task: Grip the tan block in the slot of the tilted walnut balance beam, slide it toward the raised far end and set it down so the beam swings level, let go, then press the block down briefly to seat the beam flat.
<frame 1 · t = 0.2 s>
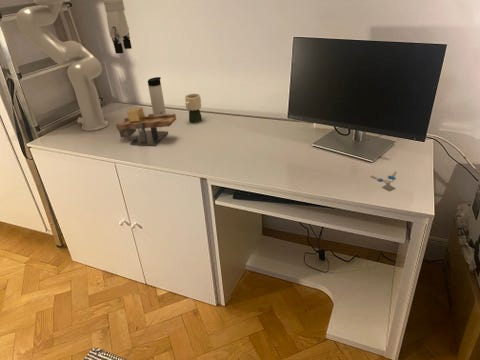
hand: (124, 50, 160), 36 cm above the table, tool pointing down, fingers open, 9 cm apart
tan block: (138, 122, 163), point 8 cm above the table, tilted 6°, touching beam
stand: (149, 139, 167), on the table
travel mug: (160, 116, 192), on the table
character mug: (195, 121, 183), on the table
beam: (147, 126, 163), point 6 cm above the table, hinge at -6.1°, touching tan block
key chain: (382, 181, 126), on the table
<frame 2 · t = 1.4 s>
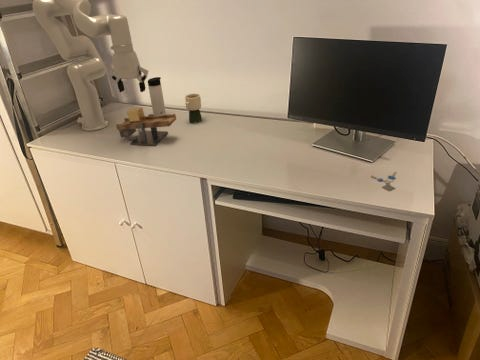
hand: (132, 91, 156), 22 cm above the table, tool pointing down, fingers open, 9 cm apart
nothing on the table moved.
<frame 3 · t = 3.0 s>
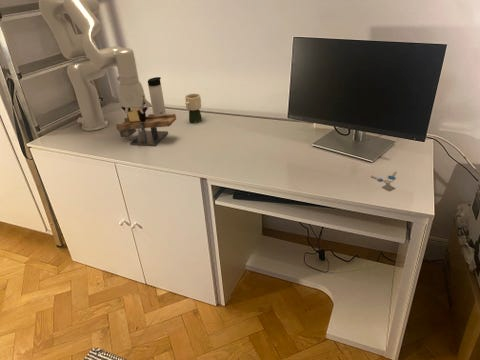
hand: (137, 120, 163), 9 cm above the table, tool pointing down, fingers closed on tan block, 5 cm apart
tan block: (138, 122, 163), point 8 cm above the table, tilted 6°, touching beam, gripper
everything else where it was.
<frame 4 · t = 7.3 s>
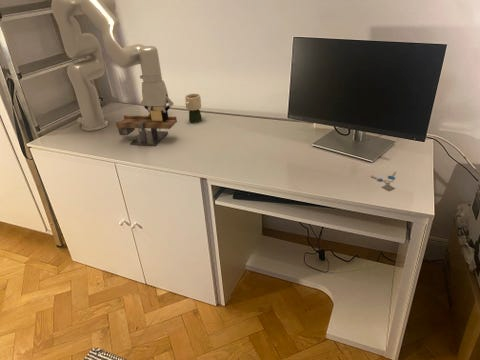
hand: (159, 119, 160), 9 cm above the table, tool pointing down, fingers closed on tan block, 5 cm apart
tan block: (160, 122, 161), point 8 cm above the table, touching beam, gripper
beam: (147, 126, 163), point 6 cm above the table, hinge at -0.5°, touching tan block
everything else where it was.
when the fingers open (9 cm above the table, at t = 7.4 s): tan block stays where it is, resting on beam.
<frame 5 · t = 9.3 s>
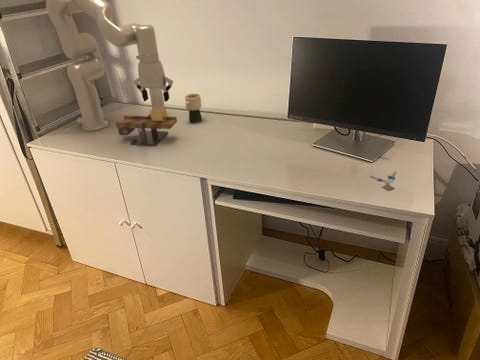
hand: (156, 100, 156), 18 cm above the table, tool pointing down, fingers open, 9 cm apart
tan block: (160, 122, 161), point 8 cm above the table, touching beam
everything else where it was.
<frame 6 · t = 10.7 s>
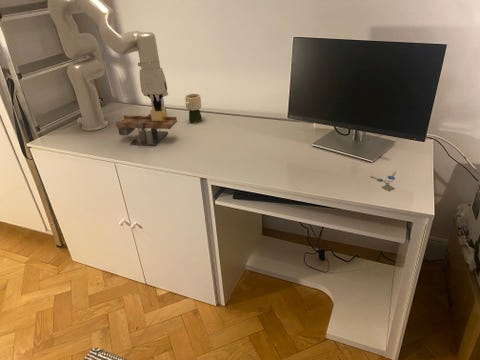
hand: (158, 109, 158), 14 cm above the table, tool pointing down, fingers closed
tan block: (160, 122, 161), point 8 cm above the table, touching beam, gripper
everything else where it was.
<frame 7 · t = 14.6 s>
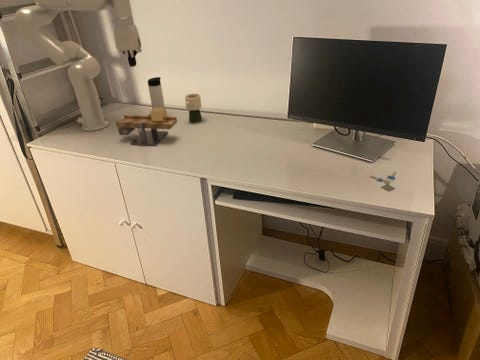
hand: (133, 65, 166), 29 cm above the table, tool pointing down, fingers closed
tan block: (160, 122, 161), point 8 cm above the table, touching beam
beam: (147, 126, 163), point 6 cm above the table, hinge at 0.2°, touching tan block
everything else where it was.
at the end: beam at +0° (first picture: -6°); tan block 0.0 cm from the target spot on the beam, point 1.2 cm above the beam's base; the gripper is holding nothing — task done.
